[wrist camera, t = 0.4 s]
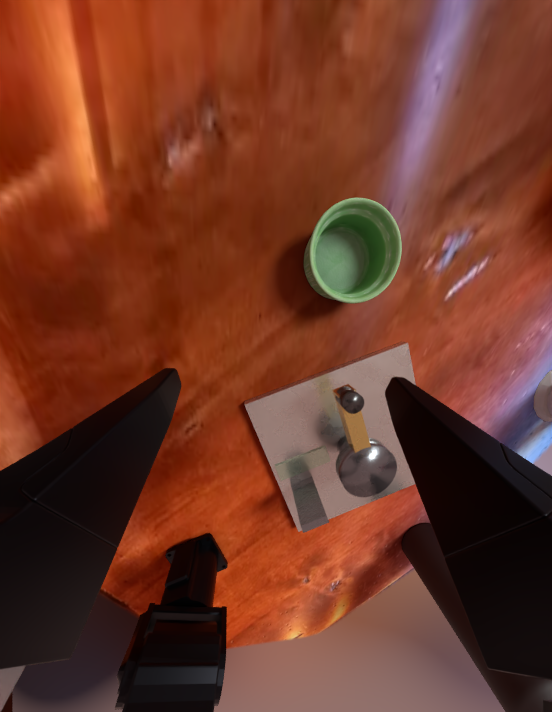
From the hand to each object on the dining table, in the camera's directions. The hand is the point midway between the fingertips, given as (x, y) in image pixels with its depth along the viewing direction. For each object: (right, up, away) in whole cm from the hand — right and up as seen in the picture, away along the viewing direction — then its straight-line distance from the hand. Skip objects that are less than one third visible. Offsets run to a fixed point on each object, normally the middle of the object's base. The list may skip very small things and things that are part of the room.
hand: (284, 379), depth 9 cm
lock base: (+9, -10, +20) cm, 24 cm away
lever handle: (+8, -8, +15) cm, 19 cm away
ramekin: (+7, +11, +15) cm, 20 cm away
